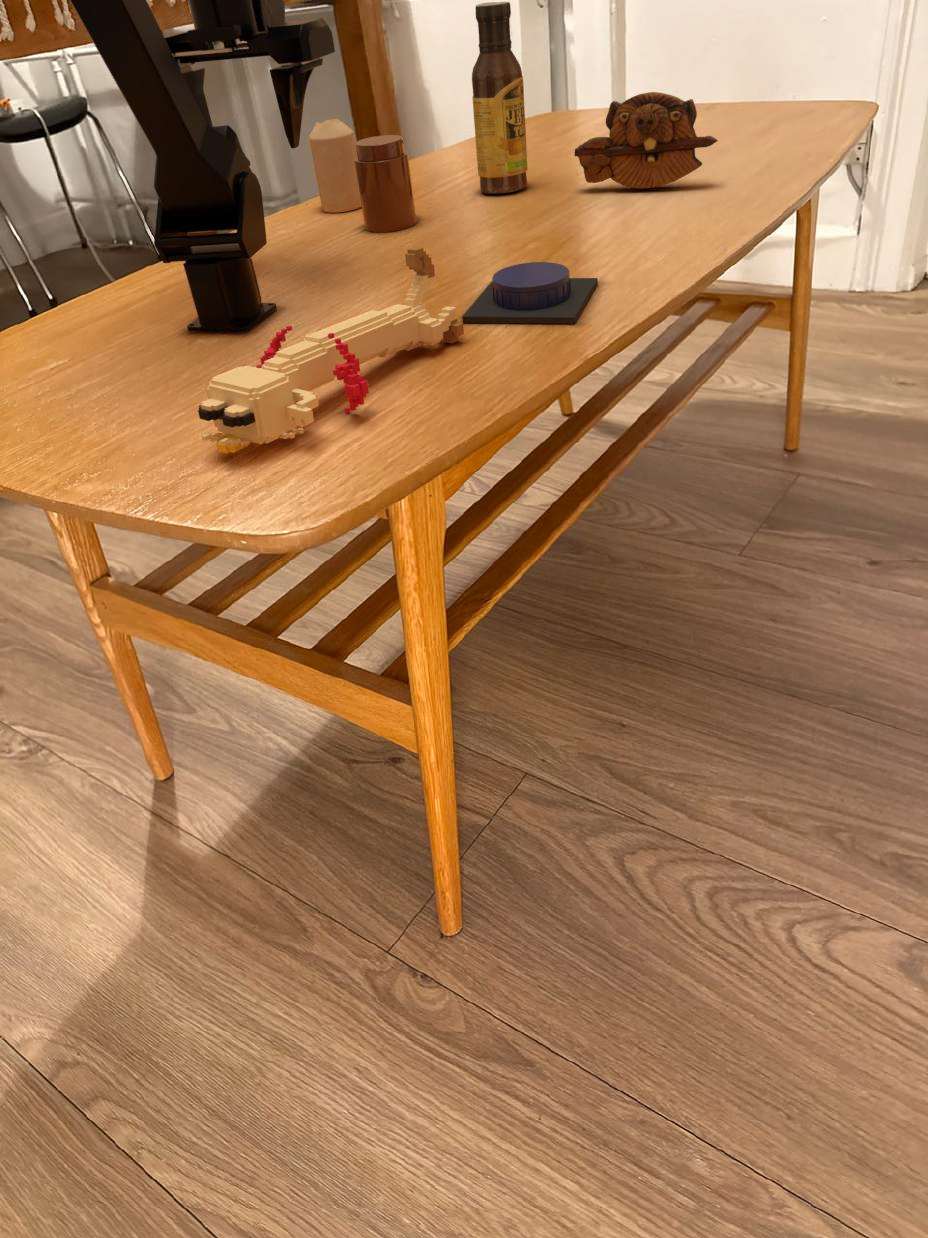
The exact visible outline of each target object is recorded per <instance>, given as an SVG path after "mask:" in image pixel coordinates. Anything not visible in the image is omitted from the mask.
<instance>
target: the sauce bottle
mask: <svg viewBox="0 0 928 1238" xmlns="http://www.w3.org/2000/svg"><path fill="white" fill-rule="evenodd" d="M511 9H512V8H511V2H510V1H491V2H489V1H488V2H482V3H481V2H480V3H479V4H476V5H475V20H476V22H477V28H478V31H477V32H478V48H479V49H478V50H479V51H478V52H479V54H478V56H477V59H476V61H475V63H474V65H473V68H472V71H471V84H472V97H471V98H472V111H473V124H474V136H475V138H474V139H475V151H476V163H477V165H476V166H477V175H478V177H479V187H480V191H481V192H482V193H484V194H509V193H514V192H517V191H520V190H522V189H524V188H526V186H527V184H528V179H527V171H528V168H529V167H528V150H527V148H528V147H527V131H526V130H527V127H526V108H525V107H526V105H525V87H524V86H525V85H524V83H525V82H524V76H523V71H522V66H521V64H520V62H519V60H518V58H517V57H516V56H515V53H513V51H512V39H511V24H510V18H511V15H512V10H511Z"/></svg>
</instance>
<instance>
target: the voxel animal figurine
mask: <svg viewBox="0 0 928 1238" xmlns="http://www.w3.org/2000/svg"><path fill="white" fill-rule="evenodd" d="M406 250H407V251H406V252H407V253H405V257H404V258H405V267H408V270H413V272H415V273H416V274H413V275H414V279H412V283H411V284H410V286H409V287H410V288H409V289H407V290H408V293H406V295H405V296H406V297H405V298H404V301H403V302H404V304H398V303H397V304H394V305H391V306H389V307H387V308H383V309H381V310H375V309H371V310H368V311H366V312H363V313H361V314H358V315H356V316H353V317H351V318H348V319H346V320H342V321H341V322H338V323H335V324H333V325H329V326H328V327H324V328H323V329H319V330H318V331H315V332H312V333H310V334H307V335H305V336H304V339H302V341H301V342H297V343H295V344H293V345H291V346H288V347H285V348H283V349H282V343H284V342H286V334H288V332H291V331H293V326H292V325H286V326H285V328H282V329H281V328H280V331H275V336H274V337H273V338H272V339H271V342H269V347H267V349H266V350H264V352H263V355H262V356H261V357H260V358H259V360H260V364H258V365H256V366H251V365H244V366H242V365H240V366H237V367H235V368H232V369H230V370H227V371H225V372H223V373H220V374H217V375H215V376H212V377H211V378H210V381H209V383H208V386H206V393H207V399H206V400H203V401H201V402H200V405H198V410H197V412H198V417H199V419H200V420H203V421H206V422H210V421H212V422H213V425H214V426H213V427H215V428H217V431H218V433H214V434H213V435H212V433H211V432H207V433H205V434H203V435H201V439H202V441H204V442H207V441H210V442H211V443H214V442H215V444H216V449H217V452H220V453H222V454H223V453H224V454H226V455H227V454H229V453H233V454H234V453H236V452H238V451H240V450H243V449H244V448H247V447H248V446H250V443H253V444H258V445H263V444H266V445H267V444H269V443H272V442H273V441H275V440H277V439H279V438H280V439H284V440H287V439H294V438H295V437H296V436H295V435H302V434H304V433H305V430H304V428H303V427H305V426H308V425H310V424H312V423H314V422H315V419H314V418H315V417H314V412H313V409H315V408H318V407H319V398H318V395H317V394H315V392H313V390H315V389H318V388H321V387H322V386H324V385H326V384H329V383H331V382H334V381H335V378H336V380H337V381H342V382H343V384H344V385H343V388H344V397H345V398H346V399H348V404H349V407H345V408H343V411H344V413H345V414H349V413H351V411H353V412H354V411H356V410H357V408H358V407H359V405H360V406H363V405H364V404H365V399H364V398H366V397H367V395H369V393H370V390H369V389H370V388H369V380H366V379H365V375H361V374H358V373H359V372H361V367H360V365H363V364H364V363H367V362H368V361H371V360H374V359H376V358H383V359H384V358H388V357H389V356H391V355H393V354H395V353H398V352H401V351H408V352H409V351H411V350H413V349H416V348H418V347H420V346H423V345H428V346H434V345H435V344H438V343H440V342H441V341H442V342H443V343H447V344H454V343H456V342H458V341H459V337H461V336H463V335H465V331H464V323H463V322H458V310H457V307H456V306H455V307H454V306H445V307H443V308H441V309H440V311H441V312H439V313H438V314H436V317H431V313H430V312H428V309H427V308H426V307H424V304H423V302H422V301H423V299H424V298H423V297H424V296H425V292H427V291H429V290H430V286H432V284H431V283H432V282H433V280H434V279H433V278H434V277H436V275H435V274H436V273H435V264H434V263H433V262H432V257H431V256H430V255H429V254H428V253H427V251H426V250H425V249H424V247H418V246H413V247H410V248H407V249H406ZM298 427H299V428H298Z"/></svg>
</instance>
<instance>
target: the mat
mask: <svg viewBox="0 0 928 1238" xmlns="http://www.w3.org/2000/svg"><path fill="white" fill-rule="evenodd" d="M569 278H570V282H571V293H570V295H569V297H568V298H567V299H566V300H565V301H563V302H561V303H559V304H556V305H553V306H550V307H546V308H541V309H533V310H514V309H507V308H503V307H501V306H498V305H497V304H496V303H495V301H494V299H493V289H492V284H493V281H492V280H491V281H490V282H489V284H488V285H487V286H486V287H485V289H483V291H481V293H480V294H479V296H478V297H477V298H476V299H475V300H474V301H473V303H472V304H471V305H470V306H469V308H468V309H467V310H466V311H465V312H464V313H463V315H462V317H461V319H462V323H463V324H530V325H531V324H533V325H534V324H535V325H536V324H540V325H541V324H543V325H544V324H545V325H550V324H551V325H555V324H556V325H574V324H576V323H577V321H578V319H579V317H580V316H581V314H582V313H583V311H584V309H585V307H586V305H587V303H588V301H589V300H590V298H591V297H592V295H593V293H594V291H595V289H596V288H597V287H598V284H599V283H598V282H599V278H597V277H569Z"/></svg>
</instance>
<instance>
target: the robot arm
mask: <svg viewBox="0 0 928 1238" xmlns="http://www.w3.org/2000/svg"><path fill="white" fill-rule="evenodd" d="M69 2H70V4H71V5H72V8H73V9H74V11H75V13H76V14H77V17H78V18H79V20H80V22H81V23H82V25H83V27H84V29H85V31H86V33H87V34H88V36H89V38H90V40H91V41H92V43H93V45H94V47H95V48H96V50H97V53H99V55H100V57H101V59H102V61H103V62H104V64H105V66H106V68H107V70H108V71H109V73H110V75H111V77H112V79H113V81H114V82H115V84H116V85H117V88H118V89H119V92H120V93H121V95H122V96H123V99H124V100H125V102H126V104H127V105H128V107H129V109H130V111H131V112H132V114H133V116H134V118H135V120H136V122H137V124H138V125H139V127H140V128H141V131H142V132H143V135H144V136H145V138H146V139H147V141H148V143H149V145H150V146H151V149H152V150H153V153H154V154H155V164H154V165H155V166H154V177H153V189H154V191H155V193H156V196H157V206H156V207H157V208H156V219H155V229H154V238H153V244H154V248H155V250H156V251H157V253H158V255H159V257H160V259H161V262H162V263H163V264H171V263H176V262H177V263H178V262H184V263H183V265H182V266H183V268H184V272H185V276H186V279H187V284H188V285H189V290H190V293H191V297H192V300H193V304H194V308H195V312H196V314H197V315H196V316H197V318H195V319H194V320H192V321H191V322H190V323H188V324H187V325H186V330H187V331H188V332H197V333H198V332H204V333H208V332H209V333H210V332H211V333H246V332H248V331H250V330H251V329H253V328H254V327H255V326H256V325H258V324H259V323H261V322H262V321H263V320H265V318H267V317H268V316H269V315H270V314H272V313H273V312H274V311H276V310H277V308H278V306H277V303H276V302H262V295H261V291H260V287H259V282H258V279H257V274H256V271H255V266H254V262H253V259H252V258H253V257H254V256H255V255H256V254H257V253H258V252H259V251H261V249H262V248H263V247H265V246H266V245H267V243H268V240H267V232H266V221H265V211H264V210H265V209H264V202H263V192H262V187H261V183H260V181H259V179H258V176H257V175H256V174H255V173H254V172H253V171H252V169H251V161H250V159H248V157H247V155H246V154H245V152H244V150H243V148H242V144H241V142H240V139H239V137H238V134H237V133H236V131H235V130H234V129H233V128H232V127H231V126H230V125H228V124H227V125H226V124H225V125H216V126H214V125H213V121H212V117H211V113H210V110H209V106H208V102H207V98H206V94H205V89H204V86H205V74H206V68H205V67H200V68H199V67H197V68H193V65H195V64H196V63H204V62H205V63H206V62H215V61H227V60H237V59H246V58H247V59H249V58H260V57H261V58H262V57H271V59H273V60H274V61H275V62H276V64H278V65H279V66H277V67H273V68H271V69H269V74H270V78H271V82H272V86H273V90H274V94H275V98H276V101H277V107H278V110H279V113H280V114H279V115H280V118H281V122H282V125H283V130H284V134H285V136H286V139H287V142H288V144H289V147H290V149H296V148H298V147H299V146H300V139H301V130H302V121H303V112H304V104H305V97H306V93H307V88H308V84H309V81H310V79H311V76H312V75H313V74H312V73H313V71H314V69H315V68H317V67H320V66H323V63H324V57H325V56H328V55H331V54H333V53H335V52H336V49H335V43H334V36H333V31H332V30H331V27H330V26H329V24H328V23H327V21H325V20H324V19H323V18H322V17H321V18H312V19H302V20H292V21H287V22H286V3H285V2H286V1H285V0H187V2H188V7H189V12H190V14H191V15H190V16H191V19H192V24H193V27H194V28H193V29H189V30H187V31H182V32H174V33H164V34H163V31H162V30H161V28H160V26H159V23H158V22H157V18H156V17H155V15H154V13H153V11H152V9H151V6H150V5H149V2H148V1H147V0H69ZM237 40H239V42H240V43H237ZM215 42H222V43H223V47H215V46H214V43H215ZM226 231H235V232H226ZM209 232H223V233H209ZM195 233H196V234H195ZM198 233H207V234H198ZM188 234H193V235H188Z"/></svg>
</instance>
